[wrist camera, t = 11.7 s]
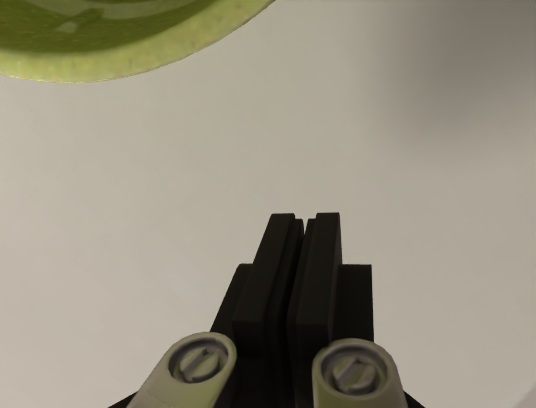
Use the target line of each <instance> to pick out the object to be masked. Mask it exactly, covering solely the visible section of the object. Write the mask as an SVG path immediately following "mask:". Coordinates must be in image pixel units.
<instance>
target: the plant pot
mask: <svg viewBox="0 0 536 408" xmlns="http://www.w3.org/2000/svg"><path fill="white" fill-rule="evenodd" d="M274 1H275V0H0V74H1V75H6V76H11V77H16V78H21V79H27V80H37V81H47V82H53V83H88V82H97V81H106V80H112V79H118V78H123V77H128V76H132V75H136V74H140V73H144V72H148V71H151V70H154V69H157V68H159V67H162V66H165V65H168V64H170V63H173V62H176V61H178V60H181V59H183V58H185V57H187V56H189V55H191V54H193V53H195V52H197V51H199V50H201V49H203V48H205V47H207V46H209V45H211V44H213V43H215V42H217V41H219V40H220V39H222V38H223V37H225V36H227V35H228V34H230V33H231V32H233V31H235V30H236V29H238V28H239V27H241V26H242V25H244V24H245V23H247V22H248V21H249V20H251V19H252V18H253V17H255V16H256V15H257V14H259V13H260V12H261V11H263V10H264V9H265V8H267V7H268V6H269V5H270V4H271V3H273V2H274Z"/></svg>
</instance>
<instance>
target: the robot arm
mask: <svg viewBox="0 0 536 408" xmlns="http://www.w3.org/2000/svg"><path fill="white" fill-rule="evenodd" d="M108 408H425V407H424V406H422V405H421V404H420V403H419V402H417V401H416V400H415V399H414V398H412V397H411V396H410V395H409V394H407V393H406V392H405V391H404V390H403V388H402V384H401V381H400V377H399V374H398V370H397V367H396V364H395V362H394V360H393V358H392V356H391V355H390V354H389V353H388V352H387V351H386V350H385V349H384V348H382V347H381V346H379V345H377V344H375V343H374V329H373V298H372V267H371V265H360V264H342V247H341V229H340V215H339V212H338V213H317V214H316V219H308V222H307V227H306V231H305V235H304V225H303V220H302V219H295V215H294V213H283V214H272V215H271V217H270V219H269V222H268V225H267V227H266V230H265V233H264V235H263V238H262V240H261V243H260V246H259V248H258V251H257V253H256V256H255V259H254V261H253V264H239V266H238V267H237V269H236V271H235V274H234V276H233V278H232V281H231V283H230V285H229V288H228V290H227V292H226V295H225V297H224V299H223V302H222V304H221V306H220V309H219V311H218V313H217V316H216V318H215V320H214V323H213V325H212V327H211V330H210V332H201V333H195V334H192V335H189V336H187V337H184V338H182V339H181V340H179V341H178V342H176V343H175V344H173V345H172V346H171V347H170V348H169V350H168V351H167V352H166V353H165V354H164V356H163V357H162V358H161V360H160V361H159V363H158V364H157V365H156V367H155V368H154V370H153V371H152V372H151V374H150V375H149V377H148V378H147V379H146V381H145V382H144V384H143V385H142V386H141V388H140V389H139V390H138V391H137V392H135V393H134V394H132V395H130V396H128V397H126V398H125V399H123V400H121V401H119V402H117V403H116V404H114V405H112V406H110V407H108Z"/></svg>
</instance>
